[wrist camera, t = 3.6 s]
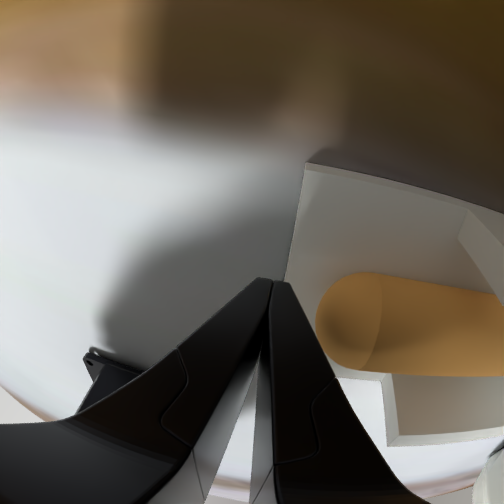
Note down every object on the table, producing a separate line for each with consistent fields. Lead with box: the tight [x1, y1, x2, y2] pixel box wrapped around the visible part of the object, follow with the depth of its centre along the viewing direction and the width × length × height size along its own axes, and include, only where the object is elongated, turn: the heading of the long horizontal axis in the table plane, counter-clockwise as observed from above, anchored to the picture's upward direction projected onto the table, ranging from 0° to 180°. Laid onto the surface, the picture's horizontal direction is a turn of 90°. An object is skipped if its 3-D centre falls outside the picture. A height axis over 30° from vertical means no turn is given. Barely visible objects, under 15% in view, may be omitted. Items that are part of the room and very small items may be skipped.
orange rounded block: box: [315, 272, 504, 377], centre depth 8 cm, size 3×9×3 cm, turn 84°
